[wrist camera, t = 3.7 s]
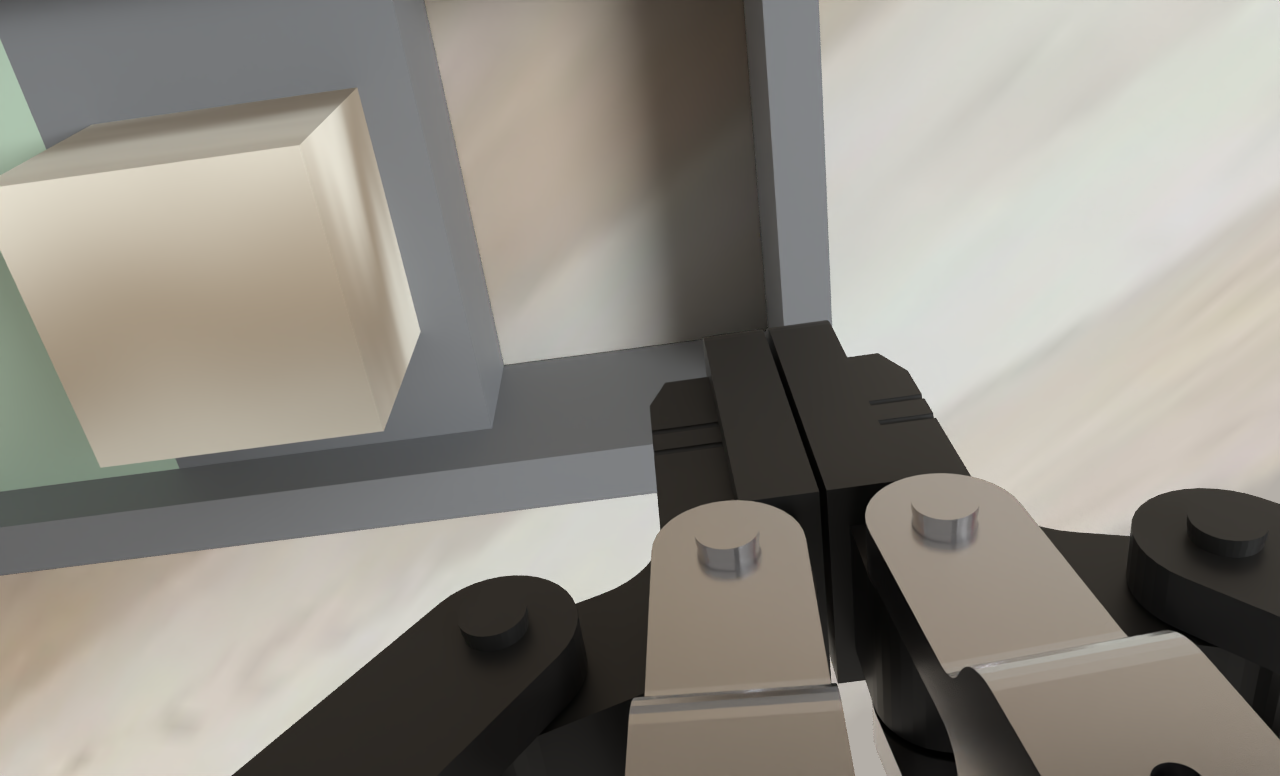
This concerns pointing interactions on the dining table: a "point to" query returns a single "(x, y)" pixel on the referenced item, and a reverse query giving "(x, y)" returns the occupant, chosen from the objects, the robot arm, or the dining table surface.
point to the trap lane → (434, 266)
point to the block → (214, 277)
